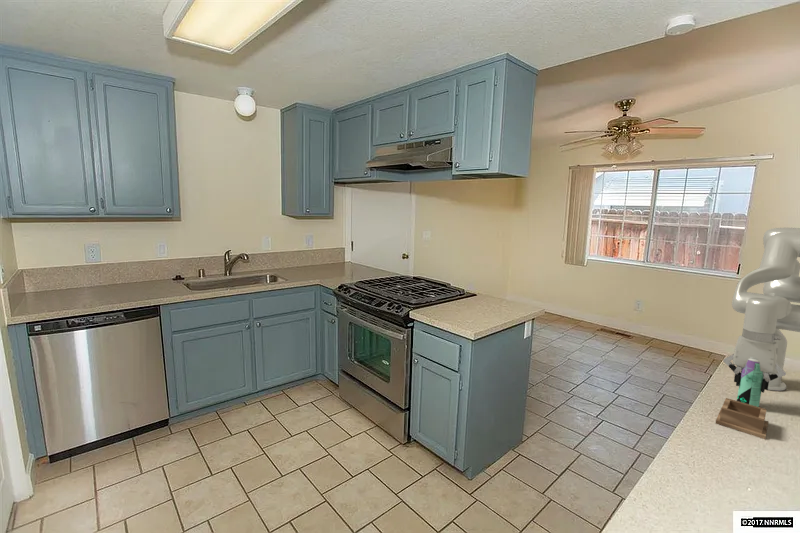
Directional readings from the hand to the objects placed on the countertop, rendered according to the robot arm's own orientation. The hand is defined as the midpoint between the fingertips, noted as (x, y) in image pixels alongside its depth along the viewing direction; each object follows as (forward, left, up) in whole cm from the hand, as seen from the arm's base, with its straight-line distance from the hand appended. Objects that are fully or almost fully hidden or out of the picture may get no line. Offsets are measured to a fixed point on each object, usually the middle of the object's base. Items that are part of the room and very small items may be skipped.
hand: (750, 387), depth 124 cm
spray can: (0, 0, -7) cm, 7 cm away
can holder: (+16, 0, -6) cm, 17 cm away
